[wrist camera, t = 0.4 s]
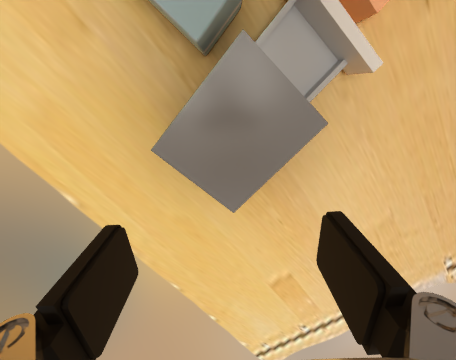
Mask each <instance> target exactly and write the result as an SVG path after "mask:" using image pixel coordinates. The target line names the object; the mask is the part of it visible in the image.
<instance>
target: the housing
mask: <svg viewBox="0 0 456 360" xmlns="http://www.w3.org/2000/svg"><path fill="white" fill-rule="evenodd" d="M327 124H328V122H327V121H326V120H325V119H324V118H323V117H322V116H321V115H320V114H319V113H318V111H317V110H316V109H315V108H314V107H313V106H312V105H311V104H310V103H309V101H308V100H307V99H306V98H305V97H304V96H303V95H302V94H301V93H300V92H299V90H298V89H297V88H296V87H295V86H294V85H293V84H292V83H291V82H290V80H289V79H288V78H287V77H286V76H285V75H284V74H283V73H282V72H281V70H280V69H279V68H278V67H277V66H276V65H275V64H274V63H273V62H272V61H271V59H270V58H269V57H268V56H267V55H266V54H265V53H264V52H263V51H262V49H261V48H260V47H259V46H258V45H257V44H256V43H255V42H254V41H253V40H252V38H251V37H250V36H249V35H248V34H247V33H246V32H245V31H244V30H242V31H241V32H240V34H239V35H238V36H237V38H236V39H235V40H234V42H233V43H232V44H231V46H230V47H229V48H228V50H227V51H226V52H225V53H224V55H223V56H222V57H221V59H220V60H219V61H218V63H217V64H216V65H215V67H214V68H213V69H212V71H211V72H210V73H209V74H208V76H207V77H206V78H205V80H204V81H203V82H202V84H201V85H200V86H199V88H198V89H197V90H196V92H195V93H194V94H193V95H192V97H191V98H190V99H189V101H188V102H187V103H186V105H185V106H184V107H183V109H182V110H181V111H180V112H179V114H178V115H177V116H176V118H175V119H174V120H173V122H172V123H171V124H170V126H169V127H168V128H167V130H166V131H165V132H164V133H163V135H162V136H161V137H160V139H159V140H158V141H157V143H156V144H155V145H154V147H153V148H152V149H151V151H152V152H154V153H155V154H156V155H158V156H159V157H160V158H162V159H163V160H164V161H166V162H167V163H168V164H170V165H171V166H172V167H174V168H175V169H176V170H178V171H179V172H180V173H181V174H183V175H184V176H185V177H187V178H188V179H189V180H191V181H192V182H193V183H195V184H196V185H197V186H199V187H200V188H201V189H203V190H204V191H205V192H207V193H208V194H209V195H211V196H212V197H213V198H215V199H216V200H217V201H218V202H220V203H221V204H222V205H224V206H225V207H226V208H228V209H229V210H230V211H232V212H233V213H234V212H235V211H236V210H237V209H238V208H239V207H241V206H242V205H243V204H244V203H245V202H246V201H247V200H248V199H249V198H250V197H251V196H252V195H253V194H254V193H255V192H256V191H257V190H258V189H260V188H261V187H262V186H263V185H264V184H265V183H266V182H267V181H268V180H269V179H270V178H271V177H272V176H273V175H274V174H275V173H276V172H277V171H279V170H280V169H281V168H282V167H283V166H284V165H285V164H286V163H287V162H288V161H289V160H290V159H291V158H292V157H293V156H294V155H295V154H297V153H298V152H299V151H300V150H301V149H302V148H303V147H304V146H305V145H306V144H307V143H308V142H309V141H310V140H311V139H312V138H313V137H314V136H316V135H317V134H318V133H319V132H320V131H321V130H322V129H323V128H324V127H325V126H326V125H327Z"/></svg>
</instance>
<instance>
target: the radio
mask: <svg viewBox="0 0 456 360" xmlns="http://www.w3.org/2000/svg"><path fill="white" fill-rule="evenodd" d="M148 1H149V2H150V3H151V4H152V5H153V6H154V7H155V8H156V9H157V10H158V11H159V12H161V13H162V14H163V15H164V16H165V17H166V18H167V19H168V20H169V21H170V22H171V23H172V24H173V25H174V26H175V27H176V28H177V29H178V30H179V31H180V32H181V33H182V34H183V35H184V36H185V37H186V38H187V39H188V40H189V41H190V42H191V43H192V44H193V45H194V46H195V47H196V48H197V49H198V50H199V51H200V52H201V53H203V54H204V55H205V56H206V55H207V54H208V53H209V51H210V50H211V49H212V47H213V46H214V45H215V43H216V42H217V41H218V39H219V38H220V36H221V35H222V34H223V32H224V31H225V30H226V28H227V27H228V25H229V24H230V23H231V21H232V20H233V19H234V17H235V16H236V14H237V13H238V12H239V10H240V8H241V4H242V0H148Z"/></svg>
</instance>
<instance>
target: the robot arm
mask: <svg viewBox="0 0 456 360" xmlns="http://www.w3.org/2000/svg"><path fill="white" fill-rule="evenodd" d="M317 265H318V268H319V270H320V272H321V274H322V276H323V278H324V279H325V281H326V283H327V285H328V287H329V289H330V291H331V293H332V295H333V297H334V299H335V301H336V303H337V305H338V307H339V309H340V311H341V313H342V315H343V317H344V319H345V321H346V323H347V325H348V327H349V329H350V330H351V332H352V334H353V336H354V338H355V340H356V342H357V343H358V344H359V345H362V346H363V348H364V349H365V351H366V353H367V355H376V354H381V356H382V358H340V359H313V360H456V303H455V302H453V301H452V300H449V299H447V298H445V297H443V296H441V295H437V294H434V293H429V292H421V293H416V292H415V291H414V290H413V289H412V288H411V286H410V285H409V284H408V283H407V282H406V281H405V280H404V279H403V278H402V277H401V275H400V274H399V273H398V272H397V271H396V270H395V269H394V268H393V267H392V266H391V265H390V264H389V262H388V261H387V260H386V259H385V258H384V257H383V256H382V255H381V254H380V253H379V252H378V251H377V249H376V248H375V247H374V246H373V245H372V244H371V243H370V242H369V241H368V240H367V239H366V238H365V236H364V235H363V234H362V233H361V232H360V231H359V230H358V229H357V228H356V227H355V226H354V224H353V223H352V222H351V221H350V220H349V219H348V218H347V217H346V216H345V215H344V214H343V213H342V212H341V211H335V212H327V213H326V215H324V216H323V217H322V223H321V231H320V238H319V245H318V252H317ZM137 276H138V267H137V264H136V261H135V258H134V255H133V252H132V249H131V246H130V243H129V240H128V237H127V234H126V231H125V229H124V228H122V227H121V226H120V225H107V226H105V227H104V228H103V229H102V230H101V232H100V233H99V234H98V235H97V236H96V237H95V239H94V240H93V241H92V242H91V243H90V244H89V245H88V246H87V248H86V249H85V250H84V251H83V252H82V253H81V255H80V256H79V257H78V258H77V259H76V261H75V262H74V263H73V264H72V265H71V266H70V267H69V268H68V270H67V271H66V272H65V273H64V274H63V275H62V277H61V278H60V279H59V280H58V281H57V282H56V284H55V285H54V286H53V287H52V288H51V289H50V291H49V292H48V293H47V294H46V295H45V296H44V297H43V299H42V300H41V301H40V302H39V304H38V305H37V306H36V308H37V309H38V310H37V311H36V313H35V314H34V315H32V314H30V313H23V314H19V315H16V316H13V317H11V318H9V319H7V320H5V321H3V322H2V323H0V360H96V358H98V357H99V356H100V355H101V354H102V352H103V350H104V348H105V346H106V344H107V341H108V339H109V337H110V335H111V333H112V330H113V328H114V326H115V324H116V322H117V320H118V318H119V315H120V313H121V311H122V309H123V307H124V305H125V303H126V300H127V298H128V296H129V294H130V292H131V290H132V287H133V285H134V283H135V281H136V279H137Z"/></svg>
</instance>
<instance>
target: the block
mask: <svg viewBox="0 0 456 360" xmlns="http://www.w3.org/2000/svg"><path fill="white" fill-rule="evenodd" d="M339 1H340V2H341V4H342V5H343V7H344V8H345V9H346V11H347V12H348V14H349V15H350V16H351V18H352V19H353V21H354V22H355V23H357V22H359V21H361V20H364V19H366V18H368V17H370V16H372V15H374V14H376V13H378V12H379V11H380V10H381V9H382V8H383V6H384V5H385V4H386V3H387V2H388V1H389V0H339Z"/></svg>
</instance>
